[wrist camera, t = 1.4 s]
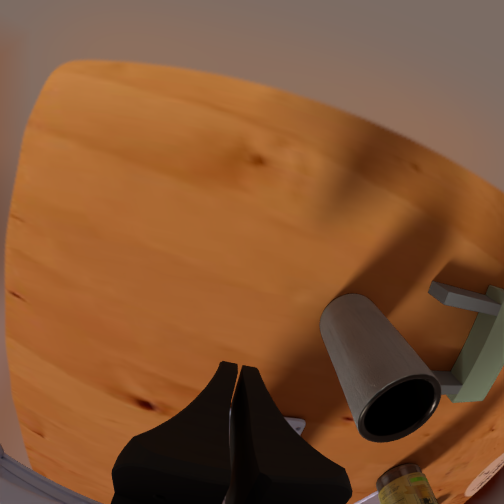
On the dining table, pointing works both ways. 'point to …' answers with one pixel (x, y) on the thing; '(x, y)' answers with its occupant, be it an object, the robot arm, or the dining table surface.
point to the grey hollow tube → (377, 370)
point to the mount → (474, 343)
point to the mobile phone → (370, 499)
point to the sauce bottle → (405, 486)
